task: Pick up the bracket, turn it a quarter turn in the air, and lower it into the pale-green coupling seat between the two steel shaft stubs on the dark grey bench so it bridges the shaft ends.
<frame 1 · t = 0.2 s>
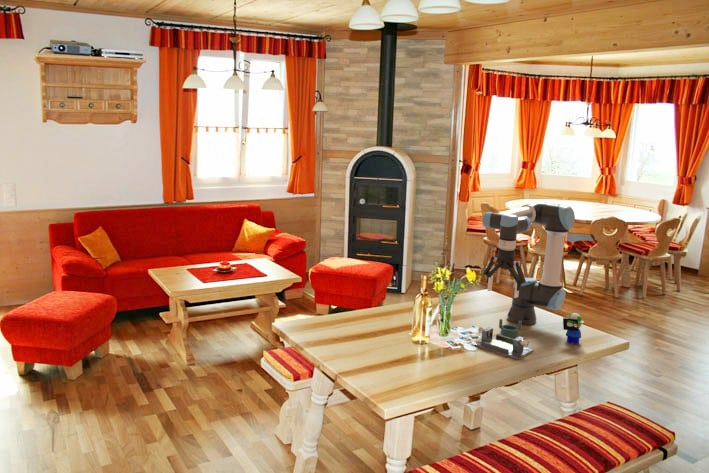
hand: (502, 293, 285), 27 cm above the table, fingers open, 13 cm apart
toy: (572, 342, 304), on the table
shaft bench: (501, 347, 293), on the table
bracket: (509, 337, 308), on the table
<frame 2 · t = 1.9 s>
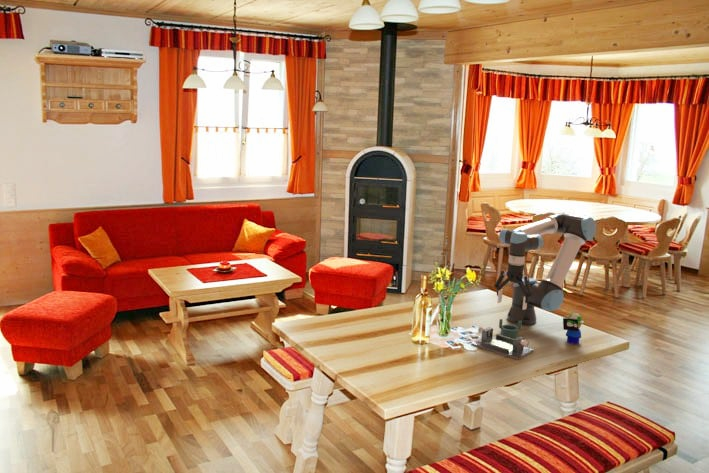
hand: (511, 305, 305), 16 cm above the table, fingers open, 13 cm apart
nothing on the table moved.
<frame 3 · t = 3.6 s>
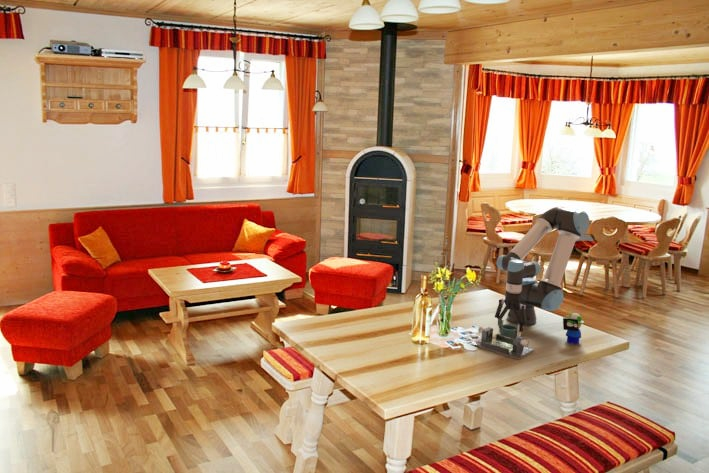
hand: (509, 334, 308), 1 cm above the table, fingers closed on bracket, 9 cm apart
bracket: (508, 337, 309), on the table, touching gripper
everything else where it was.
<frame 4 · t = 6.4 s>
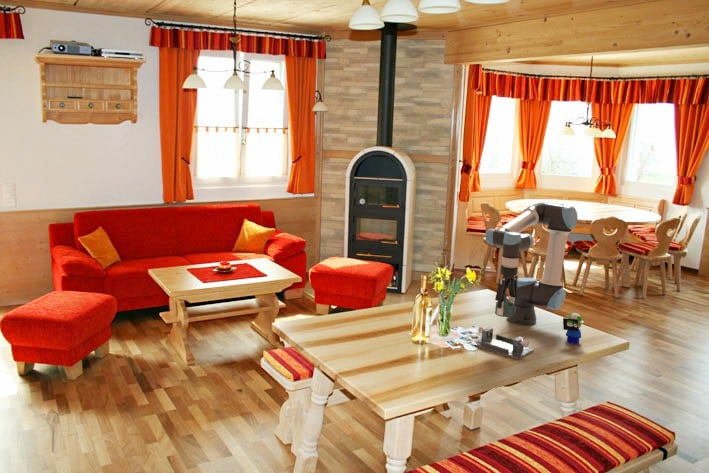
hand: (505, 312, 290), 18 cm above the table, fingers closed on bracket, 9 cm apart
bracket: (505, 314, 291), point 16 cm above the table, touching gripper
everything else where it was.
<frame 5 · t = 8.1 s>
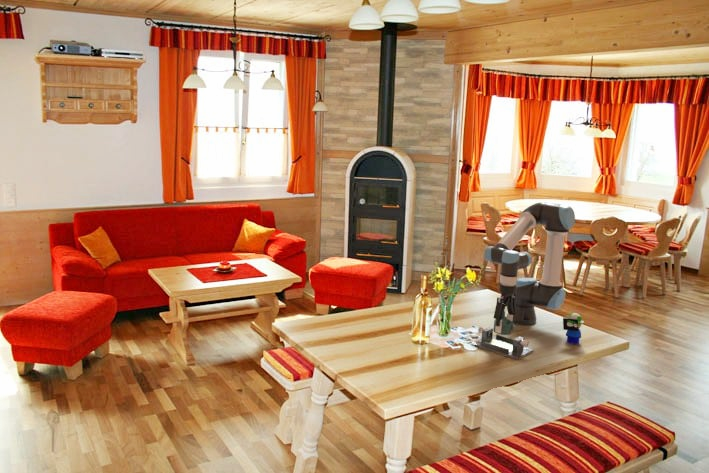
hand: (503, 330, 292), 9 cm above the table, fingers closed on bracket, 9 cm apart
bracket: (503, 332, 292), point 8 cm above the table, touching gripper
everything else where it was.
when the fingers open (5 cm above the table, at t = 9.4 s): bracket drops 3 cm, resting on shaft bench.
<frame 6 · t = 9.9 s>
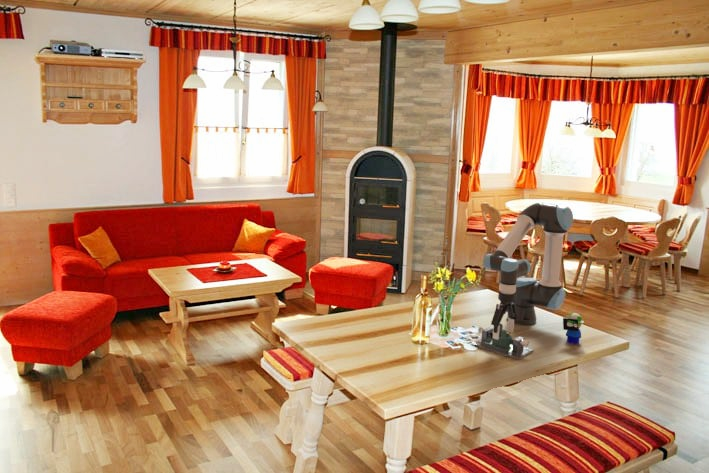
hand: (503, 335, 292), 6 cm above the table, fingers open, 13 cm apart
bracket: (501, 345, 294), point 1 cm above the table, touching shaft bench
everything else where it was.
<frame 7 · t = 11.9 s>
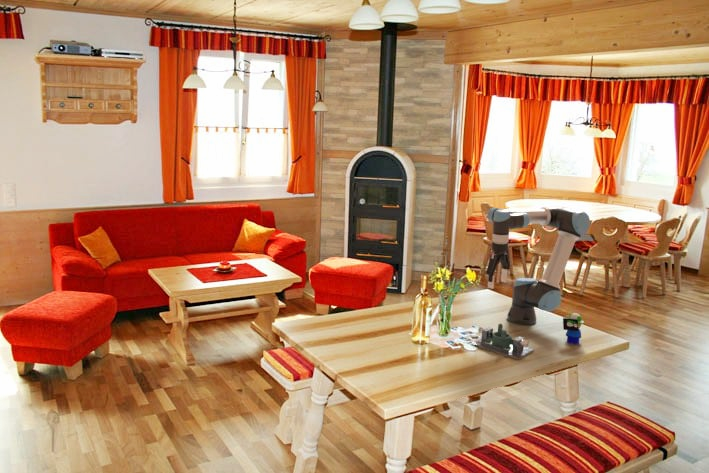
hand: (497, 285, 301), 27 cm above the table, fingers open, 13 cm apart
nothing on the table moved.
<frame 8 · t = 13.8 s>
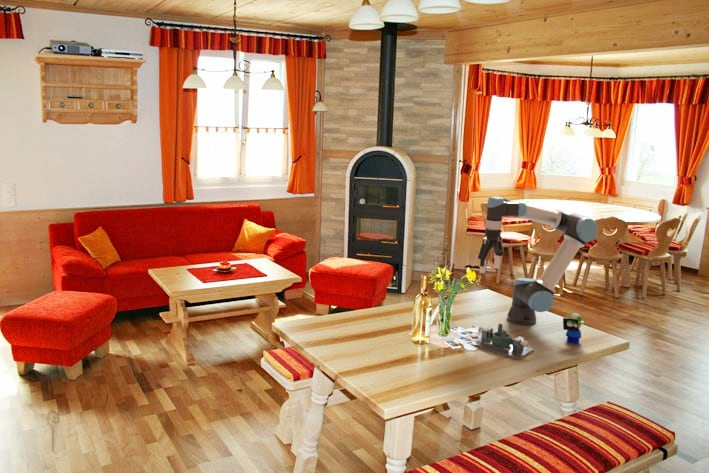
hand: (489, 270, 309), 32 cm above the table, fingers open, 13 cm apart
nothing on the table moved.
at the end: bracket 0.3 cm from the shaft bench (horizontally); bracket touching shaft bench; the gripper is holding nothing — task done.
